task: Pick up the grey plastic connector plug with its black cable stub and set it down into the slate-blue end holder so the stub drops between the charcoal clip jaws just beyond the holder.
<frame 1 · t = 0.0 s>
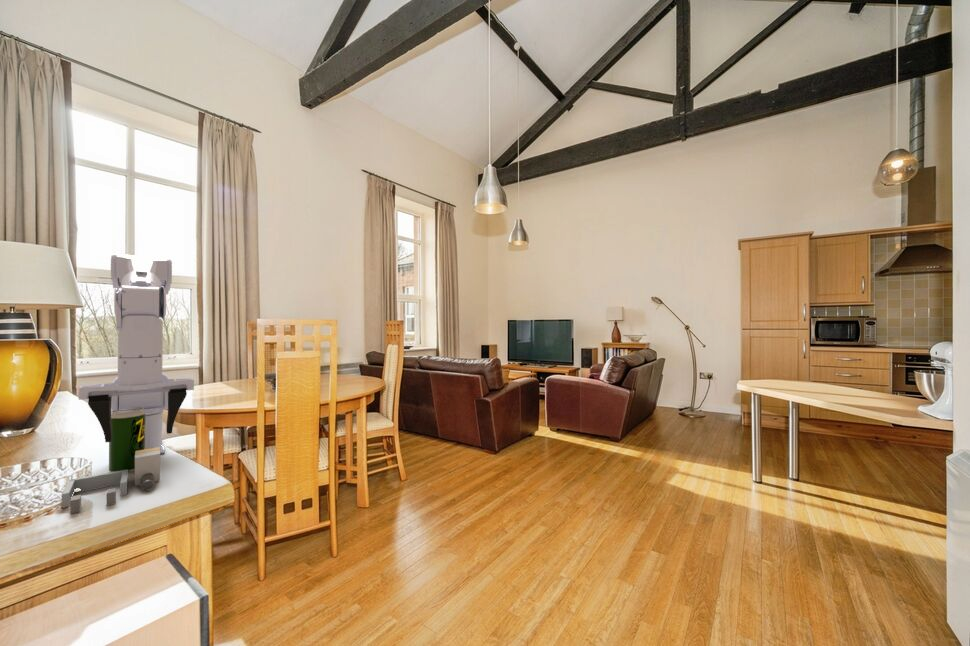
hand: (140, 436, 66), 10 cm above the table, fingers open, 7 cm apart
connector: (147, 478, 73), on the table
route: (97, 494, 67), on the table
beer can: (127, 471, 78), on the table
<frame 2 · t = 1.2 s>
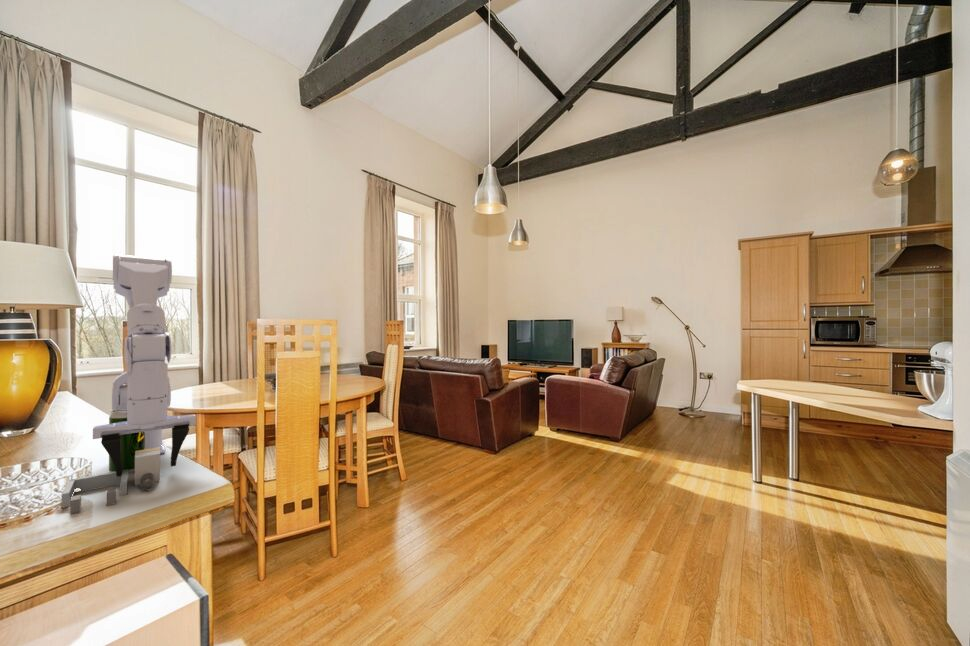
hand: (147, 469, 73), 2 cm above the table, fingers open, 7 cm apart
nothing on the table moved.
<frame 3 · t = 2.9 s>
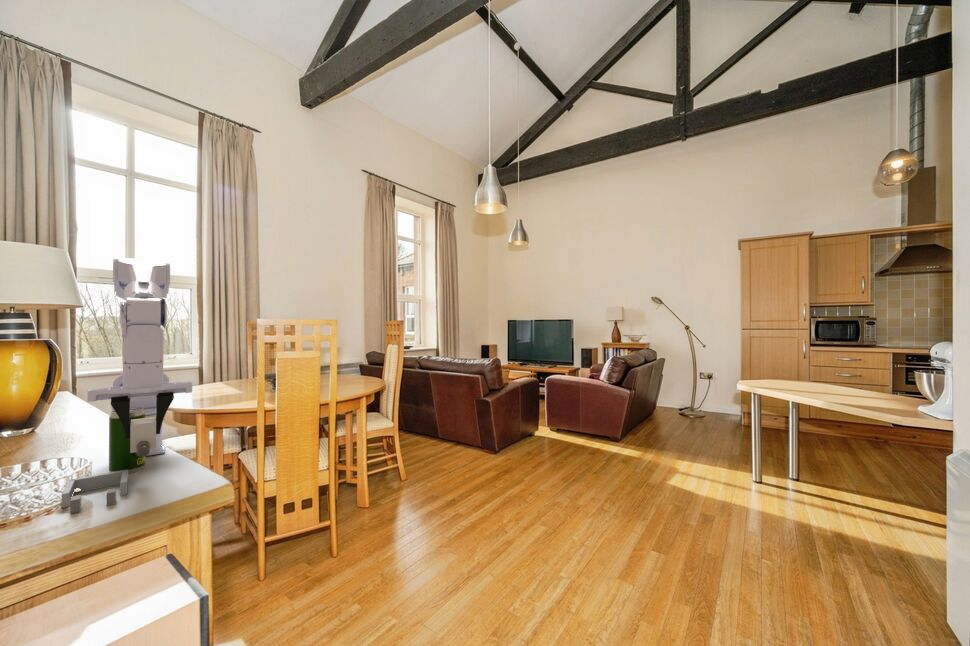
hand: (143, 435, 73), 8 cm above the table, fingers closed on connector, 3 cm apart
connector: (143, 447, 73), point 6 cm above the table, touching gripper
everything else where it was.
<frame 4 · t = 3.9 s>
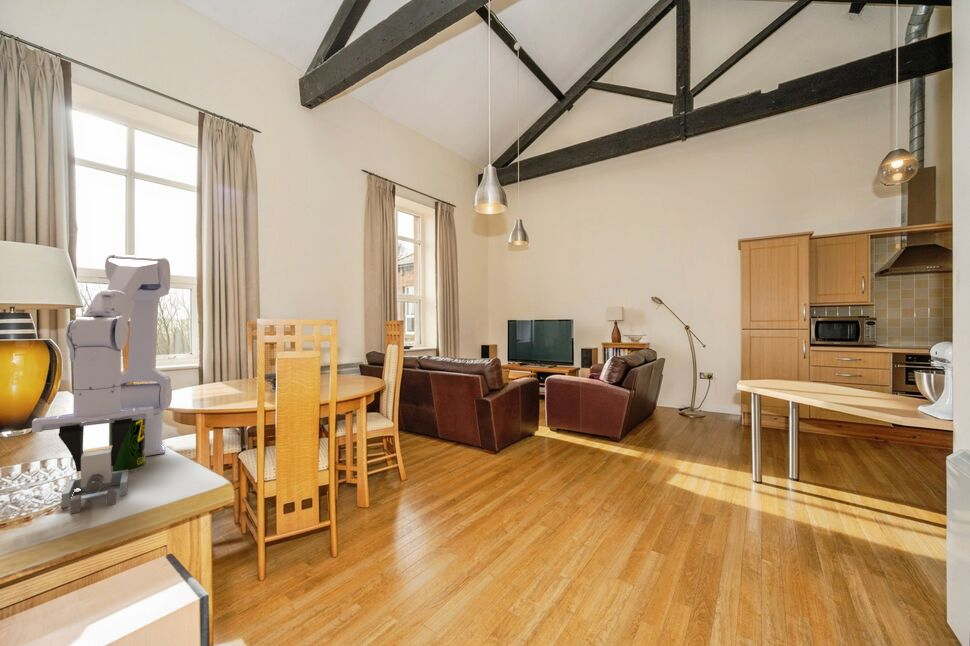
hand: (97, 466, 66), 5 cm above the table, fingers closed on connector, 3 cm apart
connector: (97, 480, 66), point 3 cm above the table, touching gripper
everything else where it was.
when the fingers open (3 cm above the table, at t = 4.6 s): connector stays where it is, on the table.
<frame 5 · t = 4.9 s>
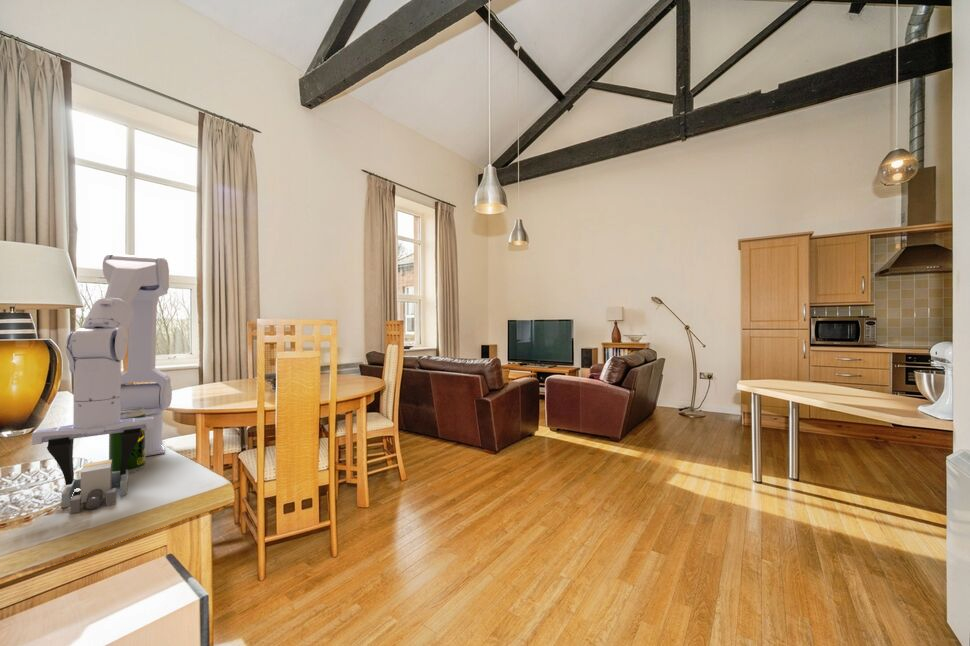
hand: (97, 477, 67), 3 cm above the table, fingers open, 6 cm apart
connector: (96, 494, 67), on the table
everything else where it was.
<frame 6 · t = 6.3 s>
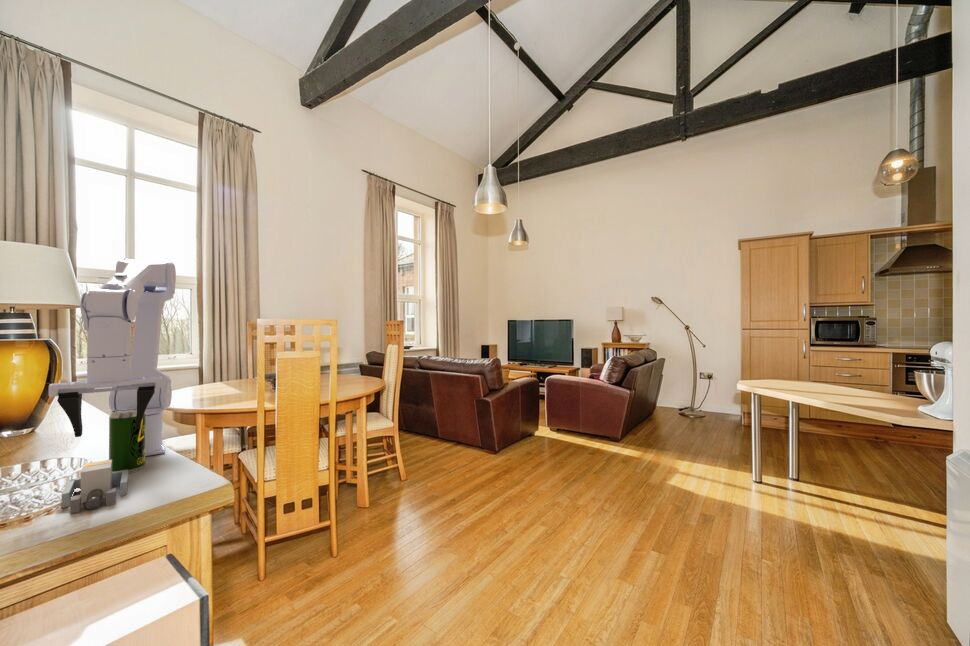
hand: (109, 431, 70), 10 cm above the table, fingers open, 7 cm apart
nothing on the table moved.
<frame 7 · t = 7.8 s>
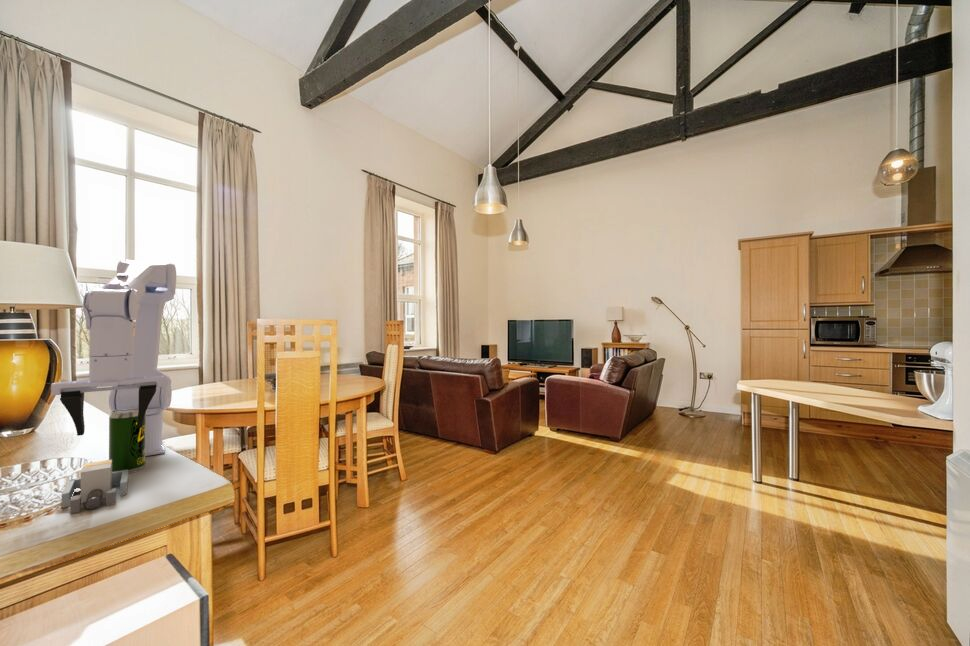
hand: (111, 430, 71), 10 cm above the table, fingers open, 7 cm apart
nothing on the table moved.
at the end: connector 0.0 cm off-centre on the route, point 0.0 cm above the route's base; connector tilted 0°; the gripper is holding nothing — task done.
